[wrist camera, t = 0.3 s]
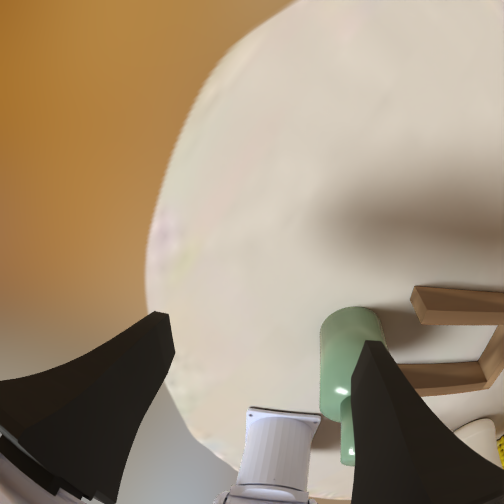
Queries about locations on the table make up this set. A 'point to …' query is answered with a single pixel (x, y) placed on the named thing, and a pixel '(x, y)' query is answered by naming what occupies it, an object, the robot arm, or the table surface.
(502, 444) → the food
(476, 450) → the vodka
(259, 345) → the table surface
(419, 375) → the u rest
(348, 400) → the green bottle
